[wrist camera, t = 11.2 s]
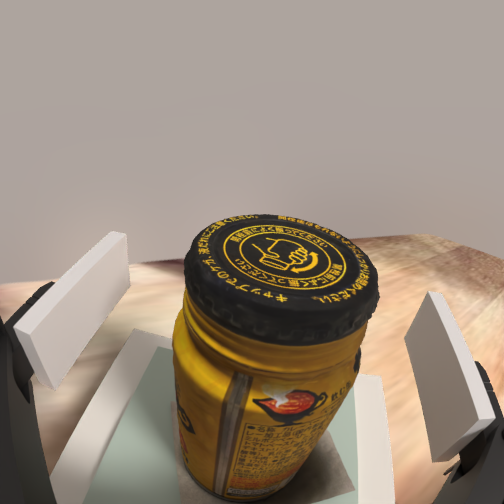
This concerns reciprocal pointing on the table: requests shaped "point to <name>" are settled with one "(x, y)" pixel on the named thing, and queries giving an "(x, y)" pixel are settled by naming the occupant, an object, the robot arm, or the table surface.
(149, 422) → the riser
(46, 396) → the table surface
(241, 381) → the condiment
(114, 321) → the table surface
